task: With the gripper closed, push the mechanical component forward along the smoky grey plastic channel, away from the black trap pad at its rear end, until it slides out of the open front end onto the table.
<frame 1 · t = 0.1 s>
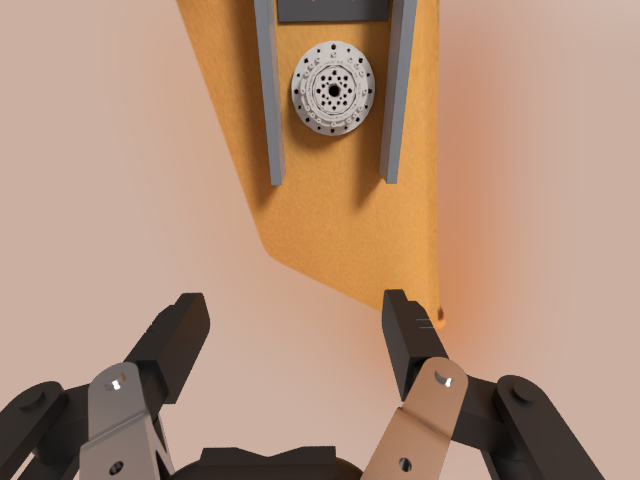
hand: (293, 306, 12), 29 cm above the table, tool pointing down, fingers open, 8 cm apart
plastic channel: (332, 63, 33), on the table
mechanical component: (332, 91, 35), on the table
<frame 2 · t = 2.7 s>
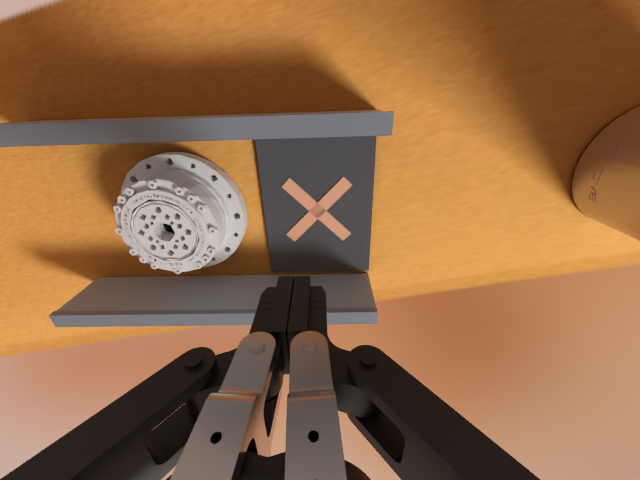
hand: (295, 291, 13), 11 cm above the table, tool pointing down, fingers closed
plastic channel: (218, 211, 24), on the table
mechanical component: (191, 209, 24), on the table
trap pad: (317, 209, 24), on the table
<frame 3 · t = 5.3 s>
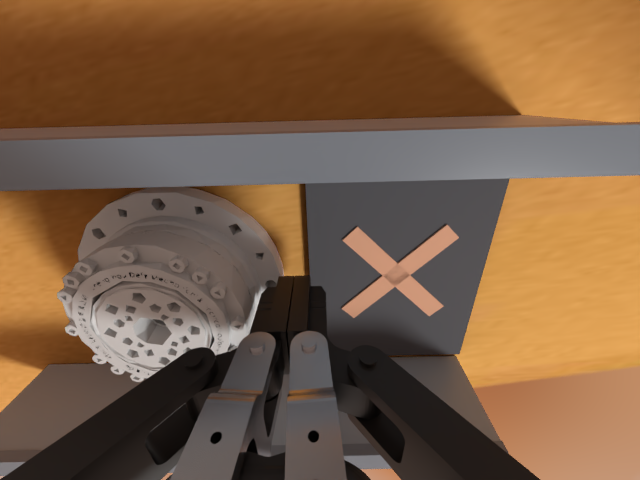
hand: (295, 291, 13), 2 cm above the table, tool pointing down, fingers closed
plastic channel: (235, 275, 15), on the table
mechanical component: (196, 269, 16), on the table
trap pad: (394, 271, 15), on the table
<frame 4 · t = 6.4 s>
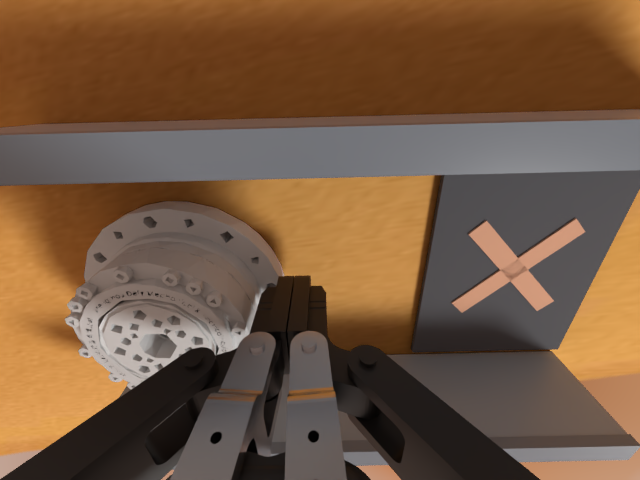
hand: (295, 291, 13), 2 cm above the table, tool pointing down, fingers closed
plastic channel: (349, 269, 15), on the table
mechanical component: (199, 281, 16), on the table
trap pad: (509, 266, 15), on the table
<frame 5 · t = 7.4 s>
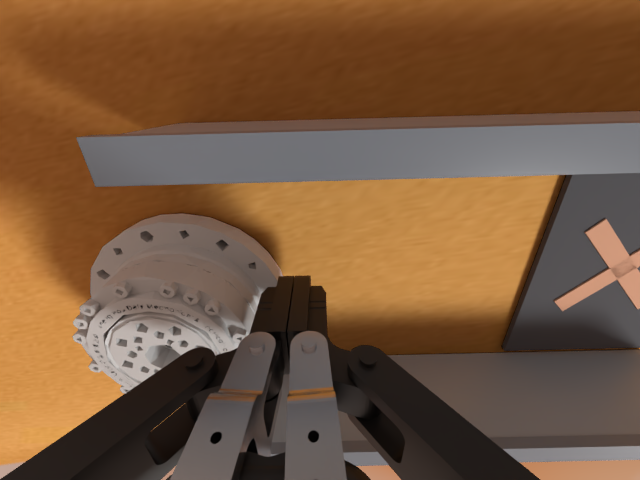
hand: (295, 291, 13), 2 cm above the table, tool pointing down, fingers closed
plastic channel: (457, 268, 15), on the table
mechanical component: (202, 290, 16), on the table, touching gripper
trap pad: (616, 264, 15), on the table
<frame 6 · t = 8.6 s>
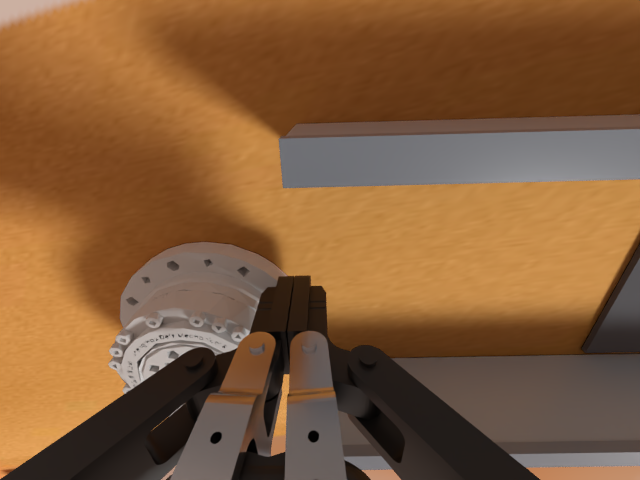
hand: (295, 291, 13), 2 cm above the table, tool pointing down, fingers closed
plastic channel: (550, 269, 15), on the table
mechanical component: (223, 311, 17), on the table, touching gripper
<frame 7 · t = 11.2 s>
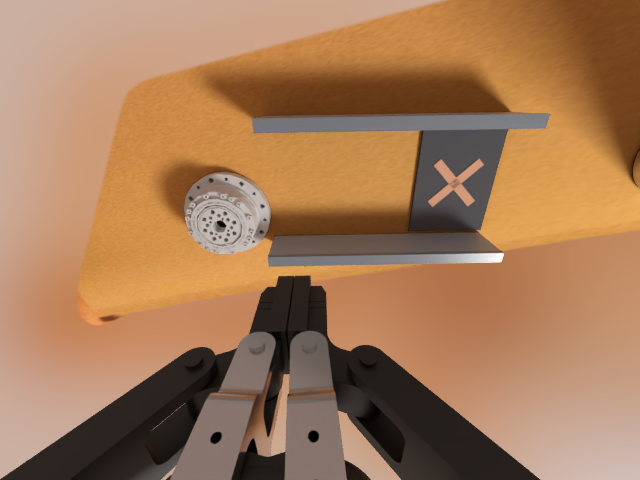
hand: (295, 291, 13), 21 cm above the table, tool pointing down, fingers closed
plastic channel: (380, 184, 33), on the table
mechanical component: (230, 211, 35), on the table
trap pad: (453, 182, 33), on the table
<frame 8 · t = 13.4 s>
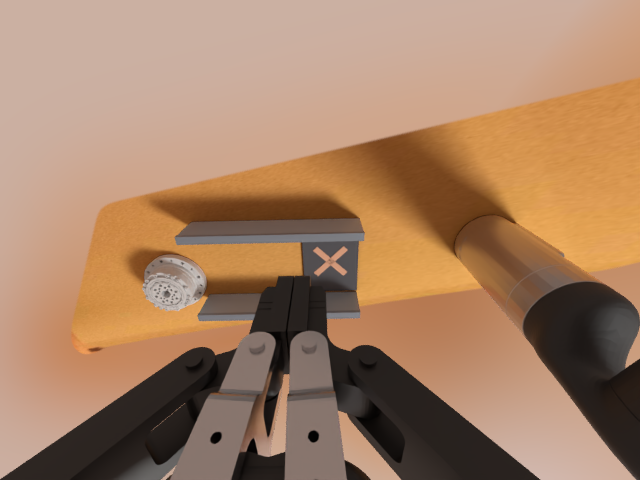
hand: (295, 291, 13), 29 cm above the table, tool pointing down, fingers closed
plastic channel: (279, 261, 47), on the table
mechanical component: (178, 277, 49), on the table
trap pad: (330, 260, 47), on the table
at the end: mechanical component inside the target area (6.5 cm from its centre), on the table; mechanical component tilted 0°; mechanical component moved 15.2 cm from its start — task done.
